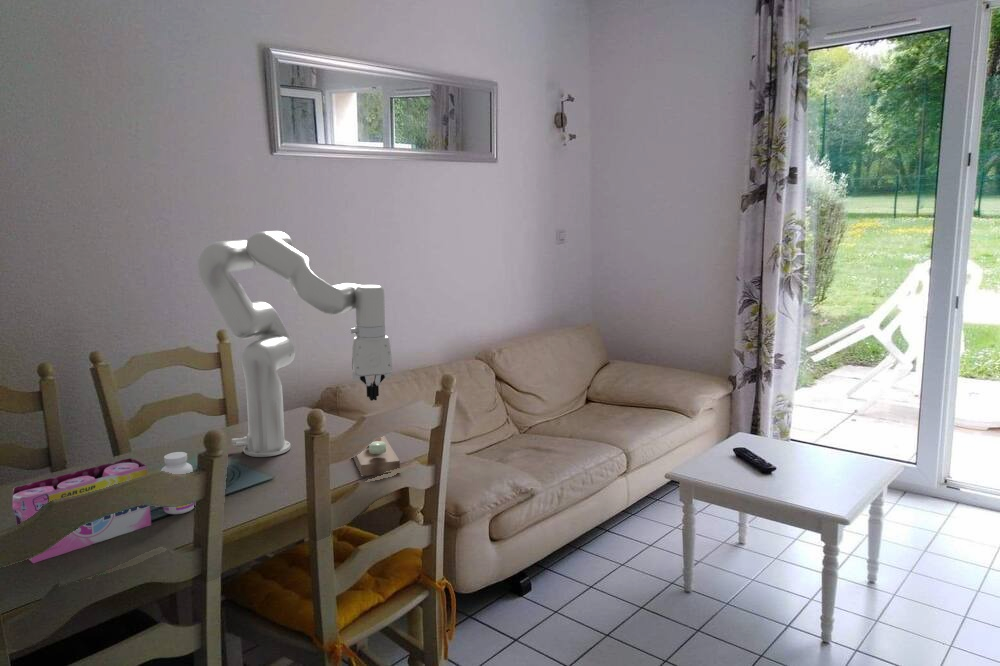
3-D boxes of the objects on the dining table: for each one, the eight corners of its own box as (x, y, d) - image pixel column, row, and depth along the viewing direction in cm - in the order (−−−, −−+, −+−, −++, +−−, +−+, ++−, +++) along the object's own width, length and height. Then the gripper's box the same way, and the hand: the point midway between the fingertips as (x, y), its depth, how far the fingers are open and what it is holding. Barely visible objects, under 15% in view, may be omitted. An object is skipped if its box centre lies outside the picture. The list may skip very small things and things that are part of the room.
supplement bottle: (201, 504, 162) (197, 450, 160) (185, 516, 155) (181, 461, 153) (173, 502, 162) (169, 449, 160) (157, 514, 156) (152, 459, 154)
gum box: (25, 567, 133) (17, 500, 130) (10, 554, 138) (3, 489, 135) (152, 525, 151) (147, 465, 149) (136, 514, 156) (131, 456, 154)
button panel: (361, 476, 179) (361, 465, 179) (349, 448, 200) (348, 438, 199) (399, 471, 183) (399, 460, 182) (384, 445, 203) (383, 435, 203)
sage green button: (370, 454, 181) (370, 447, 181) (367, 449, 185) (367, 442, 185) (387, 453, 183) (387, 445, 182) (384, 447, 187) (384, 440, 186)
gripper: (344, 336, 179) (346, 405, 182) (401, 332, 184) (403, 400, 187) (340, 331, 186) (342, 398, 189) (396, 328, 191) (397, 393, 194)
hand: (372, 399), depth 188 cm, fingers closed
